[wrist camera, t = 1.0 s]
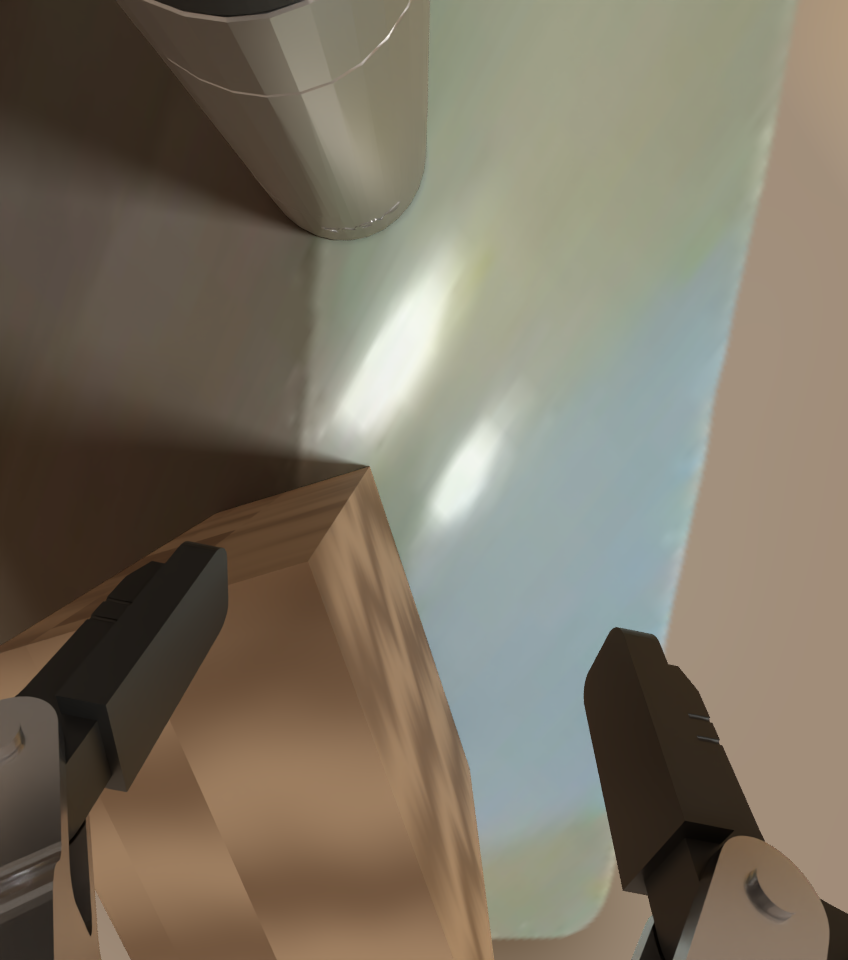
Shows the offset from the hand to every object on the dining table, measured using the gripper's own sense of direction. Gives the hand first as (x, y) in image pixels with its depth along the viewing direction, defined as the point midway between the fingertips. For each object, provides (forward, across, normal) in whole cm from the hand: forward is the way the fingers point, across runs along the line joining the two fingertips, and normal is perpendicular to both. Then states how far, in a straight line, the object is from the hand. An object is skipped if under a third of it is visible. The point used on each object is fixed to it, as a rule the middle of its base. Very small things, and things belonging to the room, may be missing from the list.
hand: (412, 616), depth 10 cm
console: (+15, +3, +19) cm, 24 cm away
